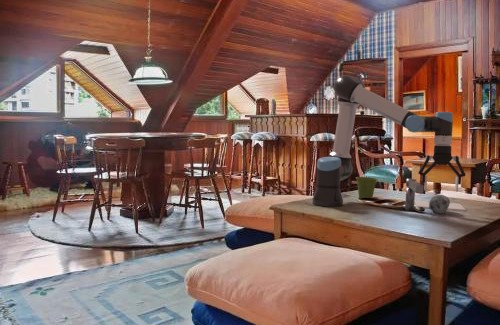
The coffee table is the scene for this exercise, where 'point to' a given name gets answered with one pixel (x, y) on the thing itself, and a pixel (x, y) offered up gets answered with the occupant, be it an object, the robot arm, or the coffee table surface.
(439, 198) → the grey streaked egg shape
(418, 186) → the bar
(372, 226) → the coffee table surface
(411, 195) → the latch post
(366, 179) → the plant pot
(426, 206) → the board
